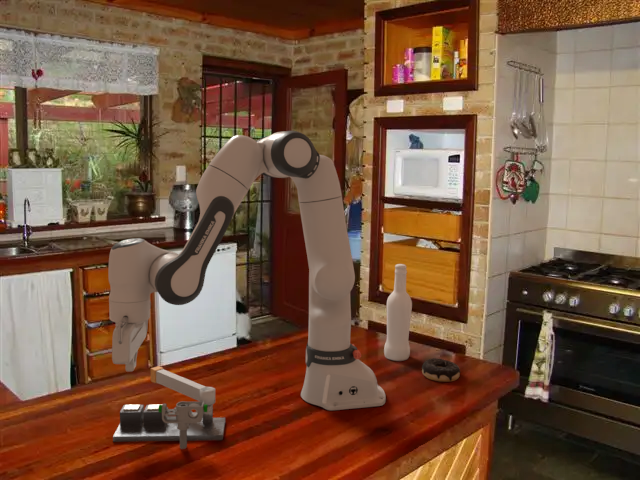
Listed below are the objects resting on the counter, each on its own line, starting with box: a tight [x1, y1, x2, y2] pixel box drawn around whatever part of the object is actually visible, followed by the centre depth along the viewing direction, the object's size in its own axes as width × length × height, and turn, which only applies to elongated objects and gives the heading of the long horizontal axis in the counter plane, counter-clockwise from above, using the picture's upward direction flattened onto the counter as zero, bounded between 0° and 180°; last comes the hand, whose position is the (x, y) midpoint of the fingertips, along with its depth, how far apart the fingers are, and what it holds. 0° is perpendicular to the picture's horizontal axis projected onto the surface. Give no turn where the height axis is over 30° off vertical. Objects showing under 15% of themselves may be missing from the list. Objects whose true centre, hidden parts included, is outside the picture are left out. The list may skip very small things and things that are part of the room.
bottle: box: [383, 263, 413, 362], centre depth 195 cm, size 8×8×30 cm
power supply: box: [143, 403, 165, 426], centre depth 144 cm, size 5×4×4 cm
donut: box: [421, 357, 462, 383], centre depth 183 cm, size 11×12×4 cm
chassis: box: [112, 404, 226, 443], centre depth 142 cm, size 24×9×6 cm, turn 95°
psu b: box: [119, 404, 145, 426], centre depth 144 cm, size 5×4×4 cm
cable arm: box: [150, 365, 216, 405], centre depth 151 cm, size 22×4×3 cm, turn 50°
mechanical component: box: [159, 400, 208, 450], centre depth 135 cm, size 3×10×10 cm, turn 95°
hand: (131, 369), depth 142 cm, fingers closed
